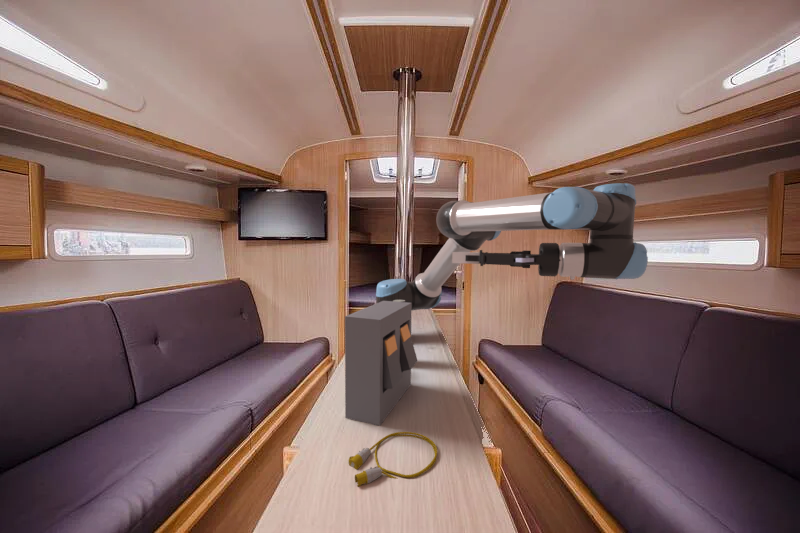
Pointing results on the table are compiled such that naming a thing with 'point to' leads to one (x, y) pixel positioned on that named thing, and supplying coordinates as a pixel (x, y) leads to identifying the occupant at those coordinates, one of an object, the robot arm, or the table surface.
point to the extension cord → (376, 472)
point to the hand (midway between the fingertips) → (452, 257)
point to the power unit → (372, 360)
